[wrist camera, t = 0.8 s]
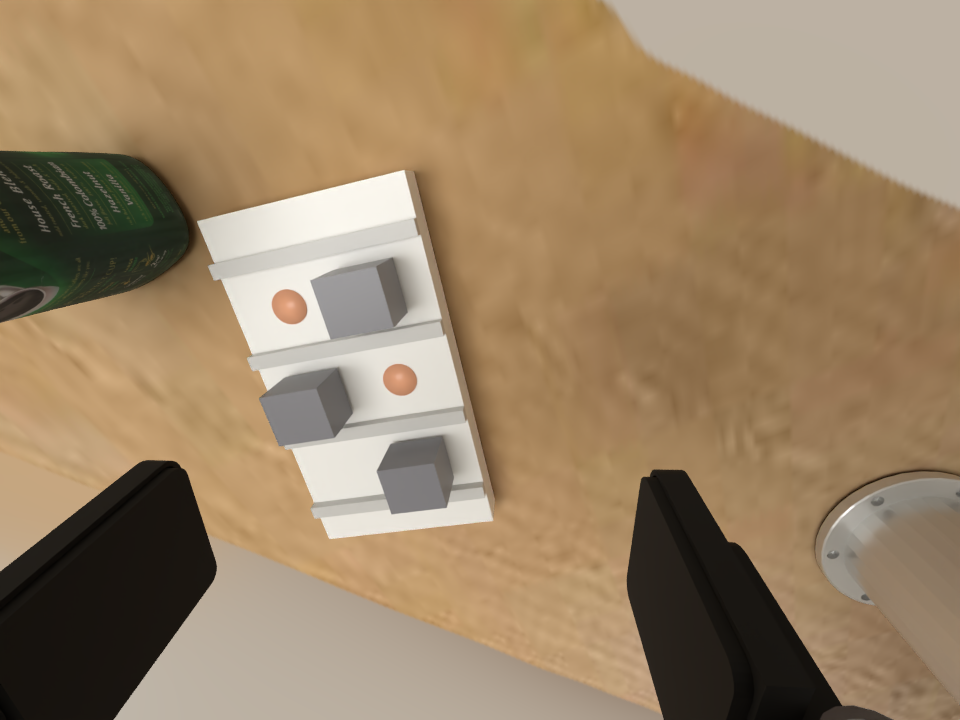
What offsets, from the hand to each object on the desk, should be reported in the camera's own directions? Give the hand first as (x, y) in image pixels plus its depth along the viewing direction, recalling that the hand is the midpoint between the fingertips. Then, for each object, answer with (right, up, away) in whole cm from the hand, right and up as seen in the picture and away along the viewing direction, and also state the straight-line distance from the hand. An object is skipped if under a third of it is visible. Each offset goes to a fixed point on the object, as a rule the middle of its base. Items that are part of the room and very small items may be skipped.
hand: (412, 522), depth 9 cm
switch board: (-7, +2, +25) cm, 26 cm away
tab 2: (-6, +8, +20) cm, 22 cm away
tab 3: (-3, -4, +24) cm, 25 cm away
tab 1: (-10, +1, +23) cm, 25 cm away
